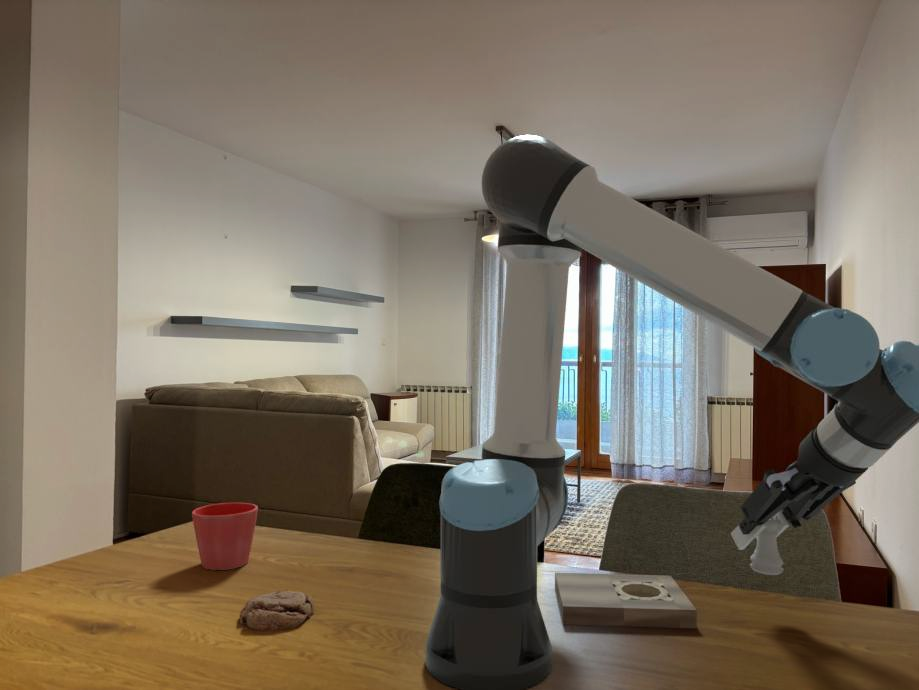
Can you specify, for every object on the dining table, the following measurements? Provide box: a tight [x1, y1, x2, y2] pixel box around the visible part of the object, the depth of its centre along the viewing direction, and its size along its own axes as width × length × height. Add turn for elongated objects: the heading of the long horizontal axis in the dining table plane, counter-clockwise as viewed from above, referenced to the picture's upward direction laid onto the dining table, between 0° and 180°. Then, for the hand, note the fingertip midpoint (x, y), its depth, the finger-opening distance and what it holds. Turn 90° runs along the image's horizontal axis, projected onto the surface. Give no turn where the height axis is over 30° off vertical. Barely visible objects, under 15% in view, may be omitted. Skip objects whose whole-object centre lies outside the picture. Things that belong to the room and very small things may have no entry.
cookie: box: [239, 590, 315, 632], centre depth 94 cm, size 10×11×3 cm
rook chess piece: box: [749, 515, 785, 576], centre depth 96 cm, size 4×4×8 cm
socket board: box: [554, 572, 698, 630], centre depth 98 cm, size 14×18×2 cm
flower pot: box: [191, 502, 259, 571], centre depth 117 cm, size 11×11×10 cm
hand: (748, 540), depth 99 cm, fingers closed on rook chess piece, 3 cm apart
